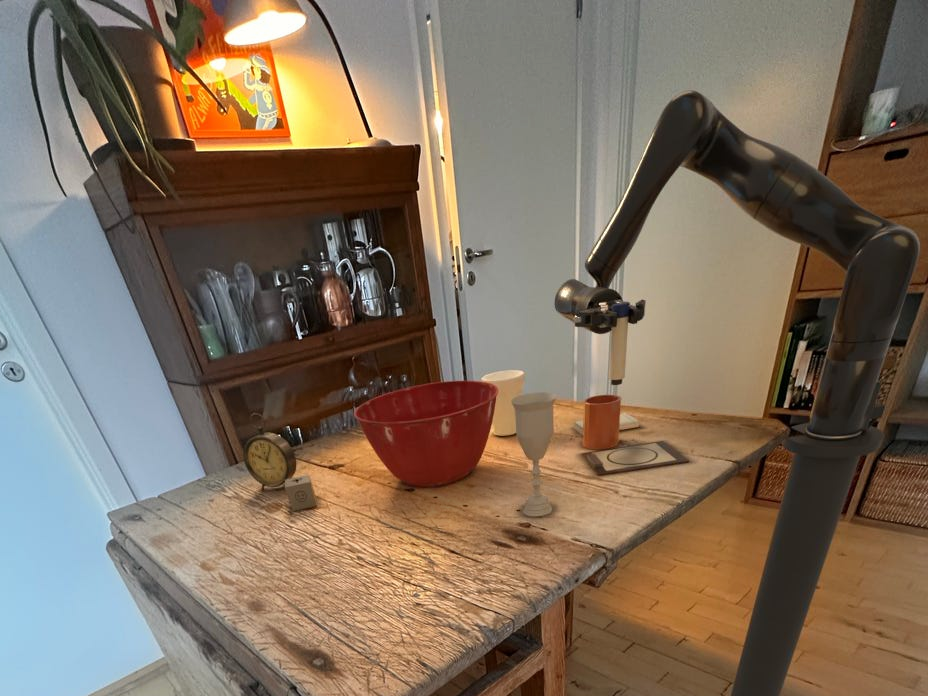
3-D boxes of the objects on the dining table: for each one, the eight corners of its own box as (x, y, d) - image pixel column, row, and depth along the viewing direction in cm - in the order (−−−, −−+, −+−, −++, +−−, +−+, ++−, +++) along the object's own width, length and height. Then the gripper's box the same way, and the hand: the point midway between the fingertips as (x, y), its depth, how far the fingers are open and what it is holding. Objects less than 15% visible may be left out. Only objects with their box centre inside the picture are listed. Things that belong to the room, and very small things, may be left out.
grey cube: (316, 497, 110) (309, 474, 107) (316, 505, 106) (309, 482, 103) (292, 502, 109) (285, 479, 106) (292, 511, 105) (284, 487, 102)
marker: (621, 381, 100) (626, 301, 92) (626, 384, 97) (632, 302, 89) (606, 383, 100) (609, 304, 92) (610, 386, 97) (614, 305, 89)
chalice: (562, 515, 86) (561, 400, 75) (521, 521, 86) (515, 407, 75) (552, 499, 92) (550, 390, 81) (514, 505, 92) (507, 397, 81)
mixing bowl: (481, 503, 95) (472, 415, 85) (347, 502, 105) (326, 423, 95) (518, 451, 115) (513, 375, 106) (403, 454, 125) (390, 385, 116)
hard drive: (585, 430, 115) (639, 420, 116) (573, 421, 122) (624, 411, 122) (585, 437, 116) (638, 427, 117) (573, 428, 123) (624, 419, 123)
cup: (532, 426, 129) (530, 368, 121) (520, 439, 122) (516, 379, 114) (494, 427, 133) (490, 371, 125) (480, 440, 126) (475, 381, 118)
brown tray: (662, 442, 107) (663, 437, 106) (688, 462, 97) (689, 456, 96) (580, 454, 108) (580, 449, 107) (597, 475, 97) (597, 470, 97)
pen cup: (612, 436, 114) (614, 392, 109) (623, 446, 108) (625, 400, 103) (579, 441, 115) (579, 398, 109) (587, 451, 109) (588, 406, 103)
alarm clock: (254, 493, 118) (226, 418, 108) (266, 484, 122) (241, 411, 112) (296, 491, 114) (271, 414, 105) (307, 482, 118) (284, 407, 109)
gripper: (563, 293, 101) (585, 299, 88) (634, 281, 101) (669, 285, 87) (563, 337, 106) (584, 349, 92) (631, 325, 105) (664, 336, 91)
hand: (625, 318), depth 90 cm, fingers closed on marker, 3 cm apart
